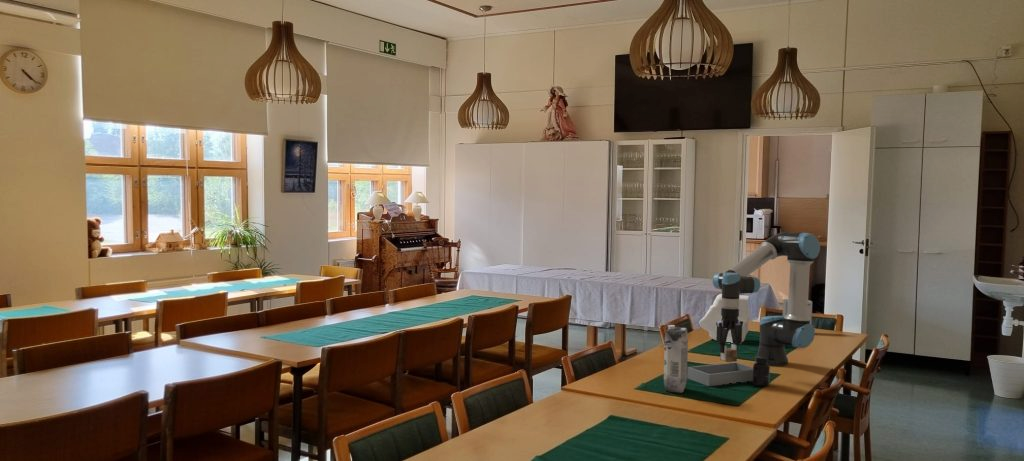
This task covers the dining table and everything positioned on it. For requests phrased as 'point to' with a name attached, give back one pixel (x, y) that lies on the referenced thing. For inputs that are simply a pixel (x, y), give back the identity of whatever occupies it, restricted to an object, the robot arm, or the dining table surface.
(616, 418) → the dining table surface
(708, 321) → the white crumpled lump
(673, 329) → the juice carton
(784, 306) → the hard drive box
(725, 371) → the tote
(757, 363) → the supplement bottle
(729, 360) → the walnut cube
